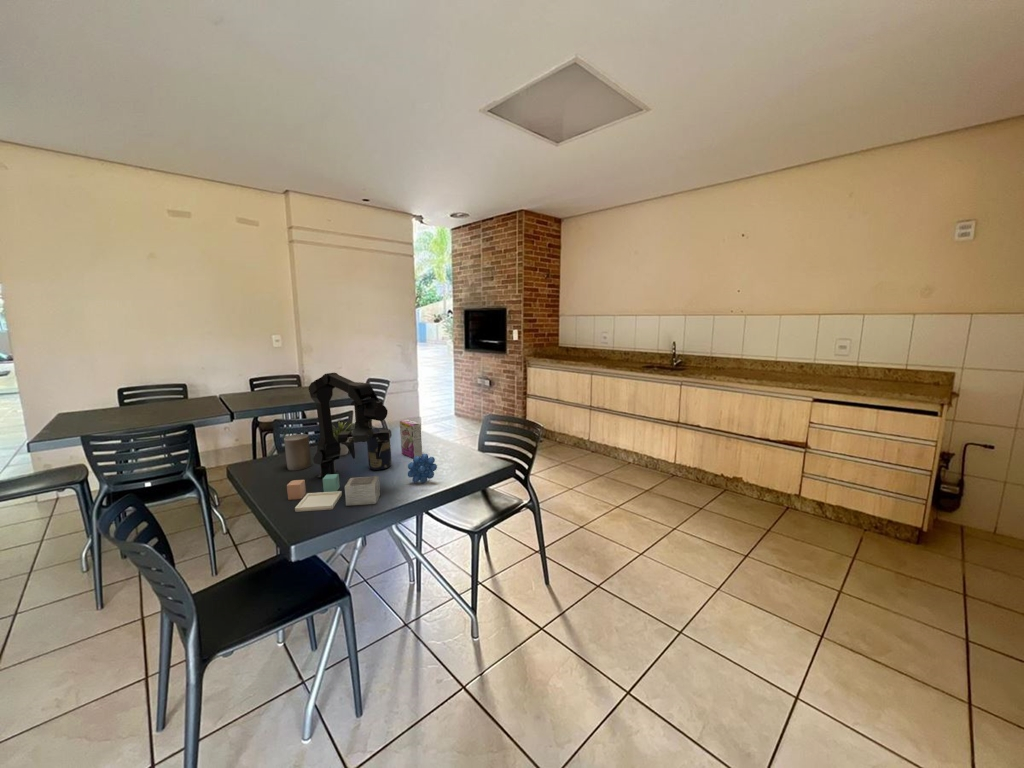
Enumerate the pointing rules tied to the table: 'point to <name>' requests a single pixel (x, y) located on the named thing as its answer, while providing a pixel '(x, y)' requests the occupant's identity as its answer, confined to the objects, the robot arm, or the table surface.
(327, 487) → the teal block
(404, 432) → the candy bar box
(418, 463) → the blue knobby flower
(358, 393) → the robot arm
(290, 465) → the pillar candle
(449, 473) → the table surface
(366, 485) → the box
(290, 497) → the terracotta block
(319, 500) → the tray
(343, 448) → the house plant
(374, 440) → the canister
